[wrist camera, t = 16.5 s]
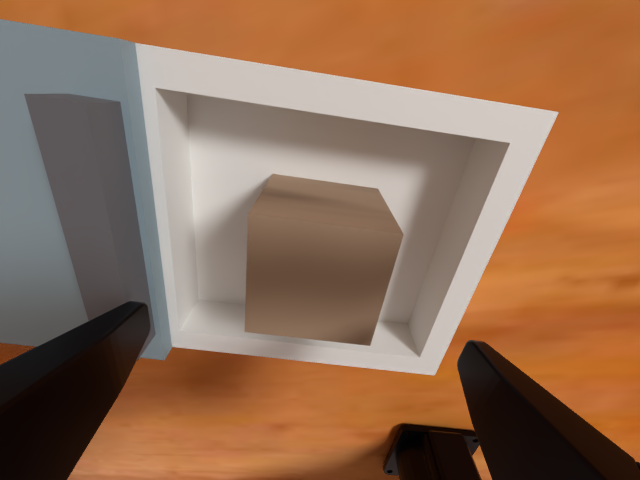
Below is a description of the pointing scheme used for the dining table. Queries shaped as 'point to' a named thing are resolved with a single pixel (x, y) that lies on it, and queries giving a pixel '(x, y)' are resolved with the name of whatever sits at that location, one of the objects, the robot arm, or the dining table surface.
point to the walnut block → (318, 260)
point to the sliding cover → (74, 187)
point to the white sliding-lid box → (333, 166)
